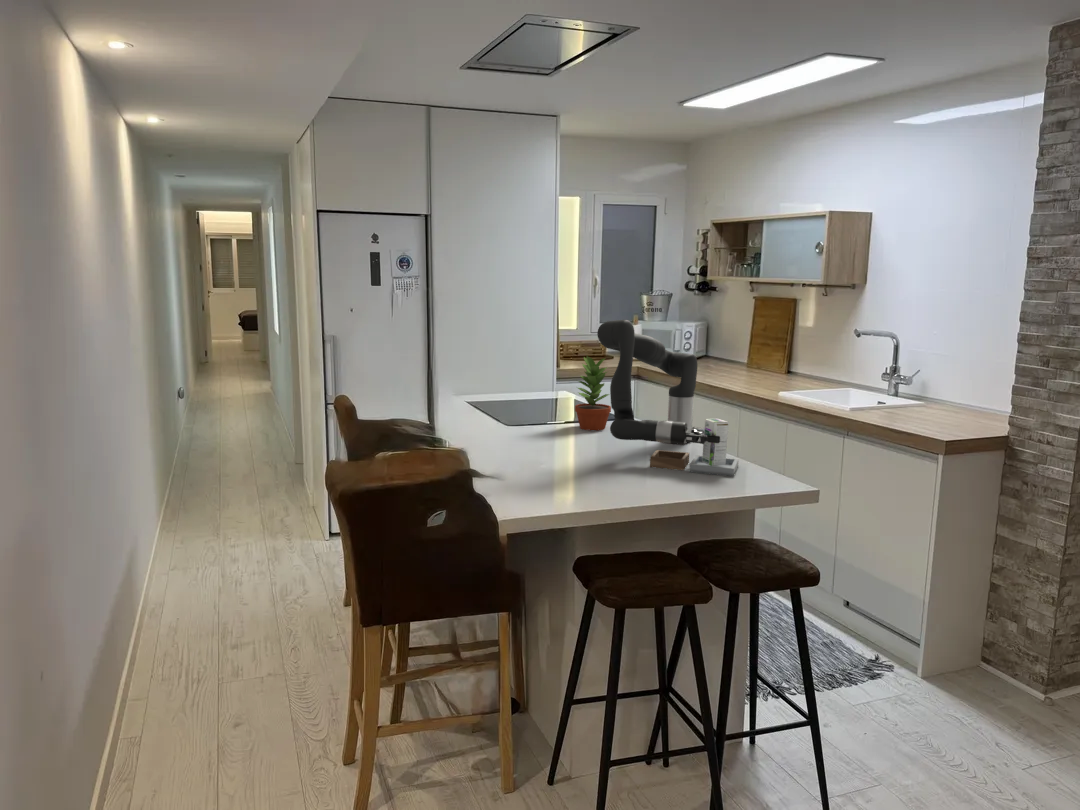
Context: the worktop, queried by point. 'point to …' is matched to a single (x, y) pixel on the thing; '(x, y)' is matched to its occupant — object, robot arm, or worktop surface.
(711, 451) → the syrup box
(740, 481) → the worktop surface
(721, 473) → the slate tray
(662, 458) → the walnut holder
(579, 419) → the potted plant
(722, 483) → the worktop surface
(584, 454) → the worktop surface
